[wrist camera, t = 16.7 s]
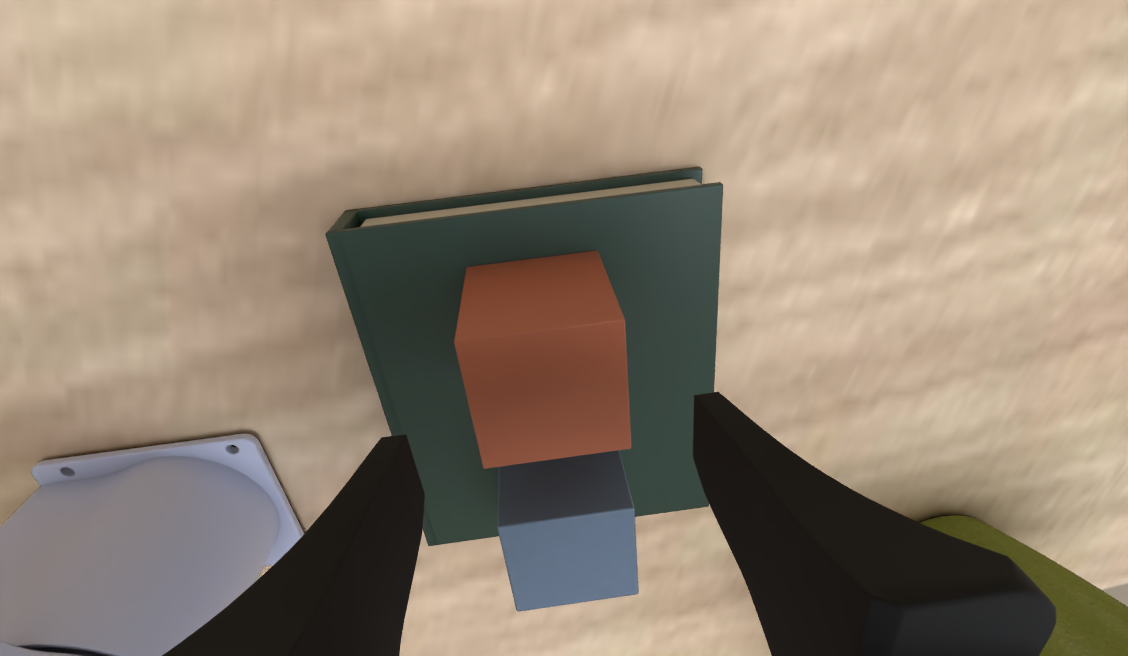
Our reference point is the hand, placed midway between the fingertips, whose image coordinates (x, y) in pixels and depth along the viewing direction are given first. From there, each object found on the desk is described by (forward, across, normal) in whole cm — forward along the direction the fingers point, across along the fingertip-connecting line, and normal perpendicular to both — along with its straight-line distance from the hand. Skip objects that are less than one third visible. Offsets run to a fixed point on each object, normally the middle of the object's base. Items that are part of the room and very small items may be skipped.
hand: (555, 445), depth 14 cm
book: (+9, 0, +4) cm, 10 cm away
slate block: (+7, 0, +7) cm, 10 cm away
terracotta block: (+7, 0, 0) cm, 7 cm away
